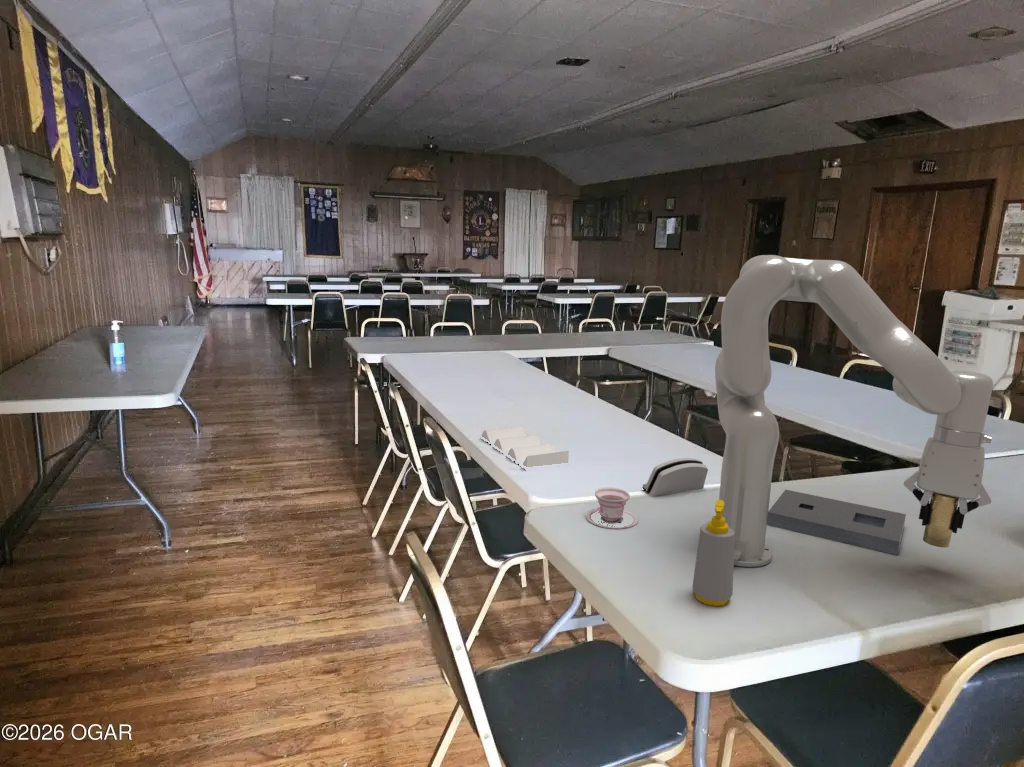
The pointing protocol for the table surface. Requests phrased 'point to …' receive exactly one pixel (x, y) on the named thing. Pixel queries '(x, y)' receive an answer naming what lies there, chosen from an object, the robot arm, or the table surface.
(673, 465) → the napkin holder
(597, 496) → the teacup
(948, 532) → the tan cylinder
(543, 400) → the table surface
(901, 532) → the plate
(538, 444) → the white zigzag rack
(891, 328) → the robot arm
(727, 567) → the soap bottle
